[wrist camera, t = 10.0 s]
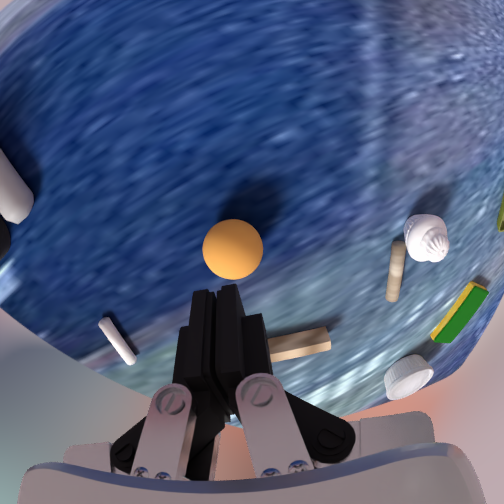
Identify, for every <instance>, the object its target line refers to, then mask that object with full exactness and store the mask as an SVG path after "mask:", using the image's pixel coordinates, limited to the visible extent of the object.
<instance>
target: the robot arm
mask: <svg viewBox="0 0 504 504" xmlns="http://www.w3.org/2000/svg"><path fill="white" fill-rule="evenodd" d="M233 414H235V415H236V416H237V418H238V420H239V421H240V423H241V424H242V426H243V430H244V433H245V437H246V441H247V445H248V449H249V453H250V456H251V460H252V463H253V467H254V471H255V474H256V478H255V479H244V480H227V481H214V478H215V471H216V464H217V458H218V451H219V443H220V431H222V429H224V427H225V422H231V421H230V415H233ZM63 460H64V461H63V463H59V462H45V463H40V464H37V465H34V466H32V467H30V468H29V469H28V470H27V471H26V473H25V474H24V476H23V479H22V482H21V486H20V490H19V495H18V502H17V504H486V501H485V497H484V494H483V491H482V488H481V485H480V482H479V479H478V477H477V475H476V472H475V470H474V468H473V466H472V464H471V462H470V461H469V459H468V458H467V456H466V455H465V453H464V452H463V451H462V450H461V449H460V448H458V447H457V446H455V445H452V444H448V443H437V442H435V438H434V430H433V424H432V421H431V418H430V417H429V416H428V415H427V414H425V413H423V412H420V411H413V412H407V413H401V414H396V415H388V416H382V417H372V418H364V419H360V421H350V422H346V421H345V420H343V419H341V418H339V417H336V416H334V415H332V414H330V413H328V412H326V411H324V410H322V409H320V408H318V407H316V406H314V405H312V404H310V403H308V402H306V401H304V400H302V399H300V398H298V397H296V396H294V395H292V394H290V393H288V392H287V391H285V390H284V389H283V386H282V384H281V382H280V381H279V379H277V378H276V377H275V376H273V370H272V364H271V358H270V351H269V345H268V339H267V334H266V329H265V325H264V321H263V317H262V313H260V314H255V315H249V316H246V315H245V312H244V308H243V305H242V302H241V298H240V295H239V291H238V288H237V285H236V284H231V285H226V286H222V288H221V290H219V291H217V299H216V296H215V293H214V292H209V290H208V289H205V290H199V291H194V292H193V297H192V304H191V312H190V319H189V326H184V327H181V328H180V331H179V337H178V344H177V351H176V358H175V365H174V373H173V381H172V384H168V385H165V386H163V387H161V388H160V389H158V391H157V392H156V393H155V394H154V396H153V398H152V401H151V404H150V407H149V410H148V414H147V416H146V417H144V418H143V419H142V420H141V421H140V422H138V423H137V424H136V425H135V426H133V427H132V428H131V429H130V430H129V431H127V432H126V433H125V434H124V435H123V436H121V437H120V438H119V439H117V440H116V441H115V442H114V443H112V444H111V443H110V442H104V443H94V444H84V445H73V446H70V447H69V448H68V449H67V450H66V451H65V453H64V458H63Z"/></svg>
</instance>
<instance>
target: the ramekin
mask: <svg viewBox="0 0 504 504" xmlns="http://www.w3.org/2000/svg"><path fill="white" fill-rule="evenodd" d="M433 372H434V371H433V368H432V367H431V366H429V365H428V363H427V362H426V361H425V360H424V359H423V357H422V356H420V355H417V354H413V355H409V356H406V357H404V358H402V359H400V360H398V361H397V362H395V363H394V364H393V365H392V366H391V367H390V368H389V369H388V370H387V371H386V373H385V376H384V382H385V386H386V391H387V392H386V394H387V397H388V399H390V400H397V399H401V398H404V397H406V396H409V395H411V394H412V393H414V392H416V391H417V390H419V389H420V388H421V387H423V386H424V385H425V384H426V383H427V382H428V381H429V380H430V379H431V377H432V375H433Z"/></svg>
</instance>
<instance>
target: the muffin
mask: <svg viewBox="0 0 504 504" xmlns="http://www.w3.org/2000/svg"><path fill="white" fill-rule="evenodd" d="M404 237H405V243H406V246H407V249H408V252H409V254H410V256H411V257H412V258H413V259H415V260H417V261H421V262H422V261H427V260H429V261H431V262H438V261H440V260H441V259H443V258H444V256H446V253H447V252H448V249H449V241H448V238H447V230H446V226H445V223H444V221H443V220H442V219H441V218H440V217H438V216H435V215H429V214H420V215H413V216H411V217H409V219H407V221H406V223H405V225H404Z"/></svg>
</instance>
